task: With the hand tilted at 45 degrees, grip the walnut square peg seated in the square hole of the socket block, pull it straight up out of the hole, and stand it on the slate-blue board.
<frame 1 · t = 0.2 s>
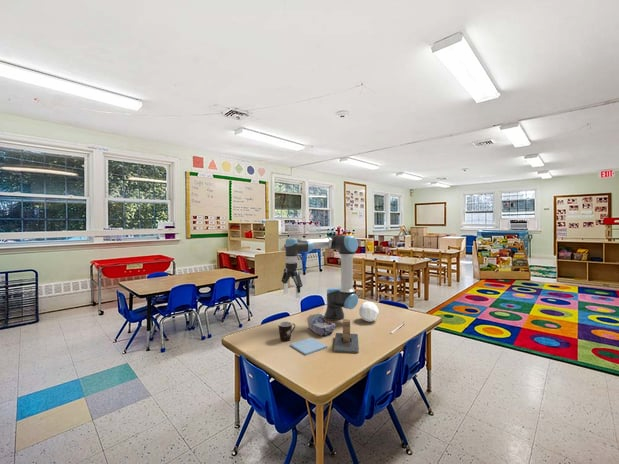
hand: (291, 295, 185), 28 cm above the table, tool pointing down, fingers open, 13 cm apart
socket block: (346, 344, 176), on the table
coffee mug: (287, 339, 185), on the table
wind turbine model: (396, 327, 206), on the table
walnut peg: (346, 332, 176), in the socket block
blue board: (308, 346, 174), on the table
cell model: (320, 331, 198), on the table
geometric sphere: (368, 321, 218), on the table
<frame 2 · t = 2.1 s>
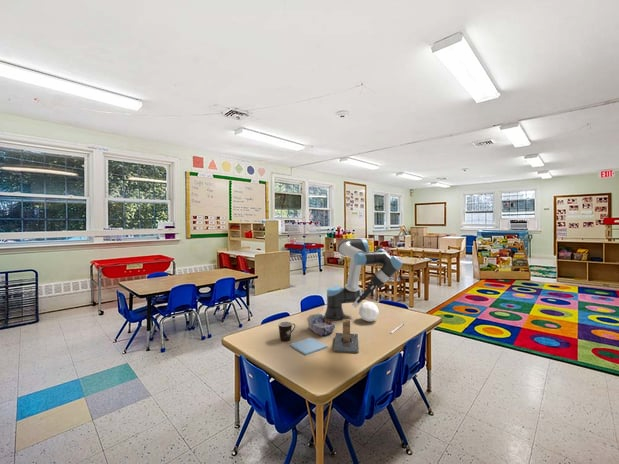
hand: (355, 303, 173), 26 cm above the table, tool tilted 40°, fingers open, 13 cm apart
nothing on the table moved.
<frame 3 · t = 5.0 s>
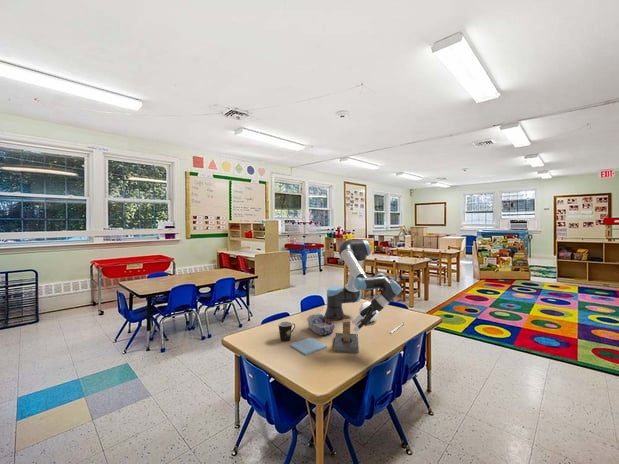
hand: (354, 326, 174), 12 cm above the table, tool tilted 45°, fingers open, 13 cm apart
nothing on the table moved.
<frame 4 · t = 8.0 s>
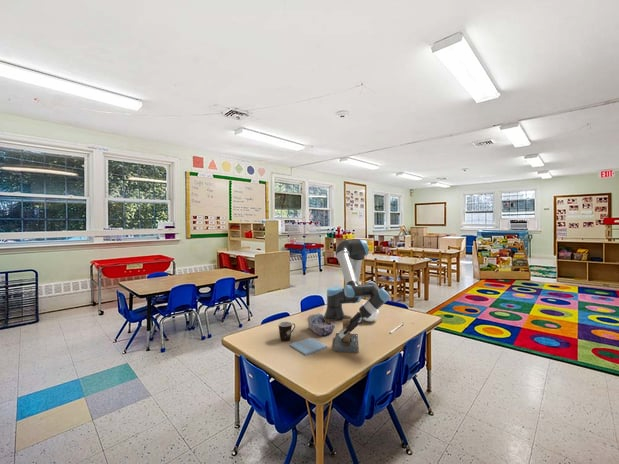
hand: (340, 335, 176), 6 cm above the table, tool tilted 45°, fingers closed on walnut peg, 4 cm apart
walnut peg: (346, 332, 176), in the socket block, touching gripper
everything else where it was.
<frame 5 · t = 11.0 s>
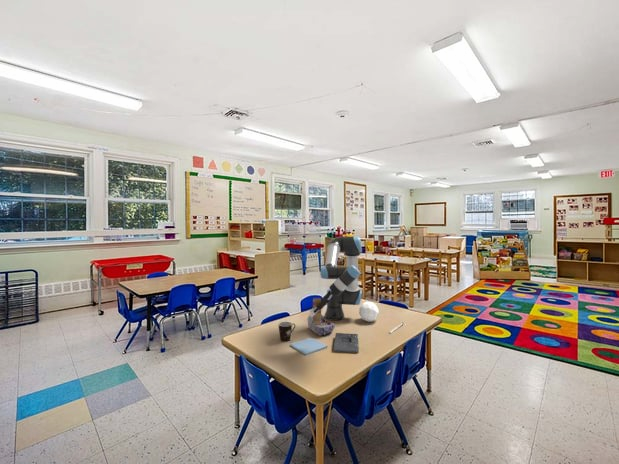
hand: (310, 314, 172), 20 cm above the table, tool tilted 45°, fingers closed on walnut peg, 4 cm apart
walnut peg: (317, 311, 172), point 22 cm above the table, touching gripper
everything else where it was.
when the fingers open (8 cm above the table, at t = 14.4 s): walnut peg drops 1 cm, resting on blue board.
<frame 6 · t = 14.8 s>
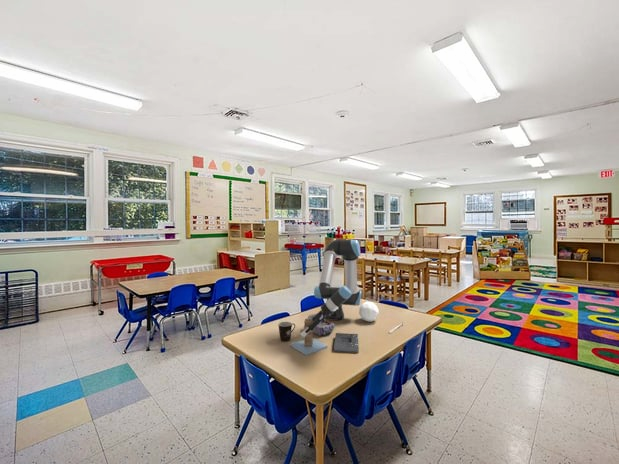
hand: (303, 331, 174), 9 cm above the table, tool tilted 45°, fingers open, 10 cm apart
walnut peg: (308, 332, 173), on the blue board, point 8 cm above the table
everything else where it was.
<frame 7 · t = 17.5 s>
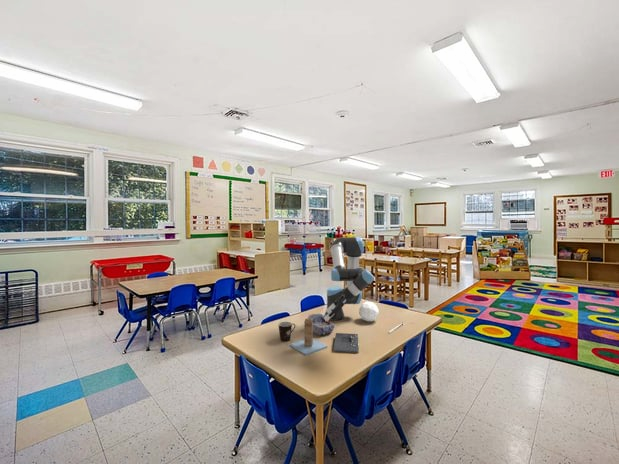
hand: (326, 315, 172), 19 cm above the table, tool tilted 45°, fingers open, 13 cm apart
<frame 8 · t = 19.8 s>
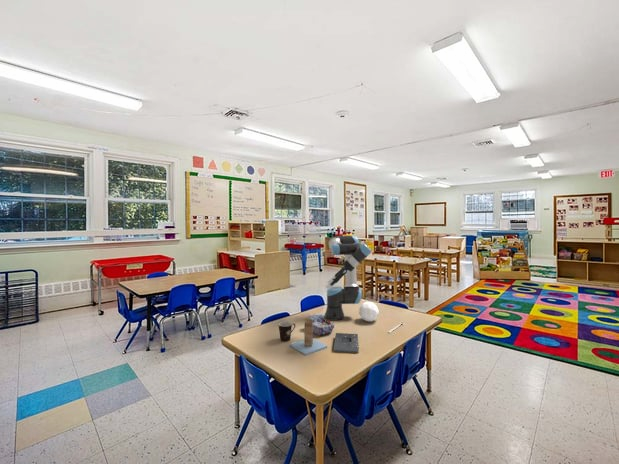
hand: (328, 285, 191), 33 cm above the table, tool tilted 45°, fingers open, 13 cm apart
at the end: walnut peg inside the target area on the blue board (0.1 cm from its centre), point 8.5 cm above the blue board's base; walnut peg tilted 0°; the gripper is holding nothing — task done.
